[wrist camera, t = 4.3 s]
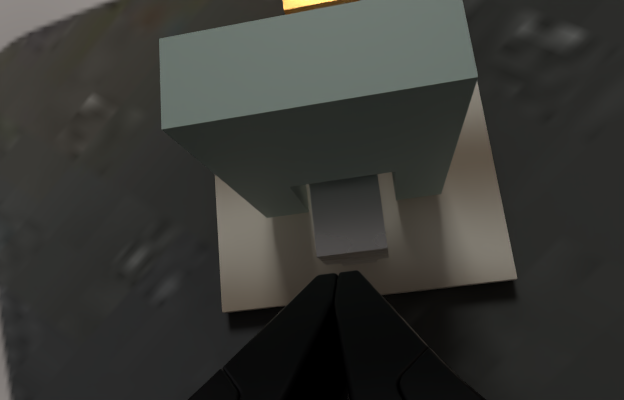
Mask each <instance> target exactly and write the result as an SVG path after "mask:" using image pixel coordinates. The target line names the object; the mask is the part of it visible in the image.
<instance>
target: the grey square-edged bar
mask: <svg viewBox="0 0 624 400" xmlns="http://www.w3.org/2000/svg"><path fill="white" fill-rule="evenodd" d="M356 1H359V0H283V5H284V12H285V14H286V15H287V14H293V13H298V12H303V11H309V10H314V9H319V8H324V7H330V6H335V5H340V4H345V3H351V2H356ZM309 188H310V197H311V207H312V216H313V226H314V236H315V245H316V255H317V258H319V259H320V260H321V261H322V262H323V263H324V264H325V265H333V264H342V265H343V266H346V265H354V264H362V263H370V262H378V261H377V259H382V258H389V254H388V246H387V239H386V232H385V225H384V218H383V211H382V204H381V196H380V189H379V182H378V175H377V174H375V175H368V176H361V177H354V178H347V179H340V180H334V181H327V182H320V183H313V184H309Z"/></svg>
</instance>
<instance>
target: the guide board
mask: <svg viewBox="0 0 624 400" xmlns="http://www.w3.org/2000/svg"><path fill="white" fill-rule="evenodd" d="M377 175H378V182H379V189H380V196H381V204H382V211H383V218H384V225H385V232H386V239H387V246H388V254H389V258H382V259H377V261H378V262H370V263H362V264H354V265H346V266H343V265H342V264H333V265H325V264H324V263H323V262H322V261H321V260H320V259H319V258H317V255H316V245H315V236H314V226H313V216H312V207H311V197H310V188H309V184H306V188H307V198H308V208H309V212H307V213H300V214H292V215H285V216H278V217H271V218H266V217H265V216H264V215H263V214H261V213H260V212H259V211H258V210H257V209H256V208H254V207H253V206H252V205H251V204H250V203H248V202H247V201H246V200H245V199H244V198H242V197H241V196H240V195H239V194H238V193H237V192H235V191H234V190H233V189H232V188H231V187H229V186H228V185H227V184H226V183H225V182H223V181H222V180H221V179H220V178H219V177H218V176H216V175H215V186H216V205H217V223H218V242H219V261H220V279H221V298H222V312H225V313H230V312H239V311H248V310H256V309H265V308H274V307H283V306H286V305H287V304H288V303H289V302H290V301H291V300H292V299H293V298H294V297H295V296H296V295H297V294H299V293H300V292H301V291H302V290H303V289H304V288H305V287H306V286H307V285H308V284H309V283H310V282H311V281H312V280H313V279H314V278H315V277H316V276H318V275H321V274H329V273H336V274H337V275H339V273H340V272H346V271H354V270H358V271H360V272H361V274H362V275H363V276H364V277H365V278H366V279H367V280H368V281H369V282H370V283H371V284H372V285H373V287H374V288H375V289H376V290H377V291H378V292H379V293H380V294H381V295H389V294H397V293H406V292H415V291H424V290H433V289H441V288H450V287H459V286H468V285H477V284H485V283H494V282H503V281H512V280H515V279H517V274H516V270H515V265H514V260H513V255H512V250H511V245H510V240H509V235H508V230H507V225H506V221H505V216H504V211H503V206H502V201H501V196H500V191H499V186H498V181H497V176H496V172H495V167H494V162H493V157H492V152H491V147H490V142H489V137H488V132H487V127H486V123H485V118H484V113H483V108H482V103H481V98H480V93H479V88H478V83H477V82H476V85H475V89H474V92H473V95H472V98H471V101H470V104H469V108H468V111H467V114H466V117H465V120H464V123H463V126H462V130H461V133H460V136H459V139H458V142H457V145H456V149H455V152H454V155H453V158H452V161H451V164H450V168H449V171H448V174H447V177H446V180H445V183H444V187H443V190H442V193H441V194H438V195H431V196H423V197H416V198H409V199H402V200H396V197H395V190H394V183H393V176H392V172H389V173H382V174H377Z"/></svg>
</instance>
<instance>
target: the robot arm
mask: <svg viewBox="0 0 624 400" xmlns="http://www.w3.org/2000/svg"><path fill="white" fill-rule="evenodd" d="M348 393H349V398H350V400H486V399H485V398H483V397H482V396H481V395H480V394H478V393H477V392H476V391H475V390H474V389H473V388H471V387H470V386H469V385H468V384H467V383H465V382H464V381H463V380H462V379H461V378H460V377H459V376H458V375H457V374H456V373H455V372H454V371H452V370H451V369H450V368H449V367H448V366H447V365H446V364H445V363H444V362H443V361H442V359H441V358H440V357H439V356H438V355H437V354H436V353H435V352H434V351H433V350H432V349H430V347H429V346H428V345H427V344H426V343H425V342H424V341H423V340H422V339H421V338H420V336H419V335H418V334H417V333H416V332H415V331H414V330H413V329H412V328H411V327H410V326H409V325H408V323H407V322H406V321H405V320H404V319H403V318H402V317H401V316H400V315H399V314H398V313H397V311H396V310H395V309H394V308H393V307H392V306H391V305H390V304H389V303H388V302H387V301H386V300H385V298H384V297H383V296H382V295H381V294H380V293H379V292H378V291H377V290H376V289H375V288H374V287H373V285H372V284H371V283H370V282H369V281H368V280H367V279H366V278H365V277H364V276H363V275H362V274H361V272H360V271H358V270H354V271H346V272H340V273H339V275H337V274H336V273H329V274H321V275H318V276H316V277H315V278H314V279H313V280H312V281H311V282H310V283H309V284H308V285H307V286H306V287H305V288H304V289H303V290H302V291H301V292H300V293H299V294H297V295H296V296H295V297H294V298H293V299H292V300H291V301H290V302H289V303H288V304H287V305H286V306H285V307H284V308H283V309H282V310H281V311H280V312H279V313H278V314H277V315H276V316H275V317H274V318H273V319H272V320H271V321H270V322H269V323H268V324H267V325H266V326H265V327H264V328H263V329H262V330H261V331H260V332H259V333H258V334H257V335H256V336H254V337H253V338H252V339H251V340H250V341H249V342H248V343H247V344H246V345H245V346H244V347H243V348H242V349H241V350H240V351H239V352H238V353H237V354H236V355H235V356H234V357H233V358H232V359H231V360H230V361H229V362H228V363H227V364H226V365H225V366H224V367H223V370H222V369H220V370H219V371H218V372H217V373H216V374H215V375H214V376H213V377H211V378H210V379H209V380H208V381H207V382H206V383H205V384H204V385H203V386H202V387H201V388H200V389H199V390H198V391H197V392H195V393H194V394H193V395H192V396H191V397H190V398H189V399H188V400H347V394H348Z"/></svg>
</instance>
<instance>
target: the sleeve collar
mask: <svg viewBox="0 0 624 400" xmlns="http://www.w3.org/2000/svg"><path fill="white" fill-rule="evenodd" d="M159 48H160V86H161V124H162V130H163V131H164V132H165V133H166V134H168V135H169V136H170V137H171V138H172V139H174V140H175V141H176V142H177V143H178V144H180V145H181V146H182V147H183V148H184V149H185V150H187V151H188V152H189V153H190V154H191V155H193V156H194V157H195V158H196V159H197V160H199V161H200V162H201V163H202V164H203V165H204V166H206V167H207V168H208V169H209V170H210V171H212V172H213V173H214V174H215V175H216V176H218V177H219V178H220V179H221V180H222V181H223V182H225V183H226V184H227V185H228V186H229V187H231V188H232V189H233V190H234V191H235V192H237V193H238V194H239V195H240V196H241V197H242V198H244V199H245V200H246V201H247V202H248V203H250V204H251V205H252V206H253V207H254V208H256V209H257V210H258V211H259V212H260V213H261V214H263V215H264V216H265V217H266V218H271V217H278V216H285V215H292V214H300V213H307V212H309V208H308V198H307V188H306V184H313V183H320V182H327V181H334V180H340V179H347V178H354V177H361V176H368V175H375V174H382V173H389V172H392V176H393V183H394V190H395V197H396V200H402V199H409V198H416V197H423V196H431V195H438V194H441V193H442V190H443V187H444V183H445V180H446V177H447V174H448V171H449V168H450V164H451V161H452V158H453V155H454V152H455V149H456V145H457V142H458V139H459V136H460V133H461V130H462V126H463V123H464V120H465V117H466V114H467V111H468V108H469V104H470V101H471V98H472V95H473V92H474V89H475V85H476V82H477V79H478V74H477V69H476V64H475V59H474V55H473V50H472V45H471V40H470V35H469V30H468V25H467V20H466V16H465V11H464V6H463V1H462V0H361V1H356V2H351V3H345V4H340V5H335V6H330V7H324V8H319V9H314V10H309V11H303V12H298V13H293V14H287V15H282V16H277V17H272V18H266V19H261V20H256V21H251V22H245V23H240V24H235V25H230V26H224V27H219V28H214V29H209V30H203V31H198V32H193V33H188V34H182V35H177V36H172V37H166V38H161V39H159Z"/></svg>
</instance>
